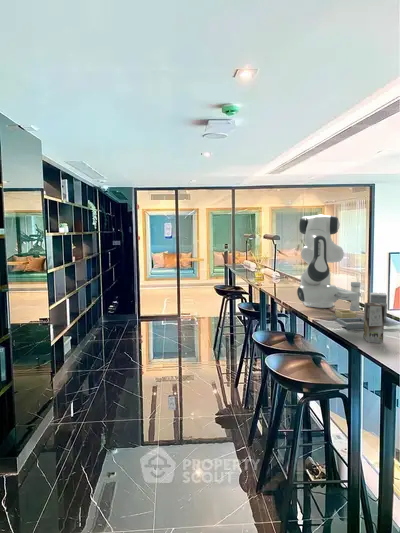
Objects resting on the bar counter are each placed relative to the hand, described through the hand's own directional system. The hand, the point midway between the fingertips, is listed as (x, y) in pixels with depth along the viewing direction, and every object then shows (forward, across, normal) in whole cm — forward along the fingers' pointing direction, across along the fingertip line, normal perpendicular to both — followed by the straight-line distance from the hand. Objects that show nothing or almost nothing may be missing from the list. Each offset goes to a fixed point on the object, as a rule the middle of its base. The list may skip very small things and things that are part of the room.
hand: (357, 293), depth 197 cm
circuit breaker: (+15, +6, +17) cm, 24 cm away
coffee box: (-5, -24, +17) cm, 30 cm away
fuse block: (+2, +15, +17) cm, 23 cm away
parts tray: (-1, 0, +17) cm, 17 cm away
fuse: (-1, 0, +8) cm, 9 cm away
